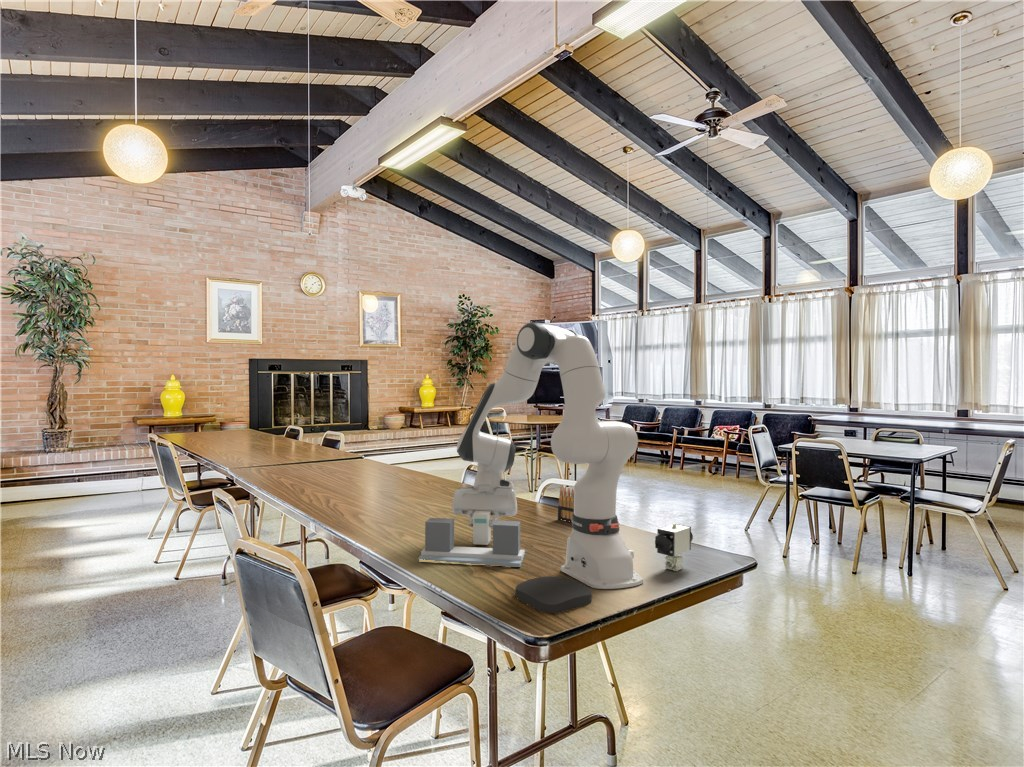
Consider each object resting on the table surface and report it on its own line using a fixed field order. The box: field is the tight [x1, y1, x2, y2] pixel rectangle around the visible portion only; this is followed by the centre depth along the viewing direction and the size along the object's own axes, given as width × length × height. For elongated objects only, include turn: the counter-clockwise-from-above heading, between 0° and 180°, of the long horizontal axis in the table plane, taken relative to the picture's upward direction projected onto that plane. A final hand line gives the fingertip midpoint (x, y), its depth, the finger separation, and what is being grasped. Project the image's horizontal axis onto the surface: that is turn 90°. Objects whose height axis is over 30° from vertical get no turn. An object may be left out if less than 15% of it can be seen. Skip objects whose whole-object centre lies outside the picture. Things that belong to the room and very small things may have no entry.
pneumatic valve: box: [654, 523, 694, 572], centre depth 148 cm, size 6×12×12 cm, turn 133°
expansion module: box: [472, 510, 492, 546], centre depth 167 cm, size 5×4×9 cm
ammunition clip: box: [557, 486, 574, 523], centre depth 197 cm, size 11×2×12 cm, turn 45°
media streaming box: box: [514, 576, 593, 614], centre depth 127 cm, size 15×15×3 cm
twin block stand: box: [417, 517, 526, 568], centre depth 155 cm, size 12×28×10 cm, turn 82°
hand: (481, 525), depth 167 cm, fingers closed on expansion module, 4 cm apart
